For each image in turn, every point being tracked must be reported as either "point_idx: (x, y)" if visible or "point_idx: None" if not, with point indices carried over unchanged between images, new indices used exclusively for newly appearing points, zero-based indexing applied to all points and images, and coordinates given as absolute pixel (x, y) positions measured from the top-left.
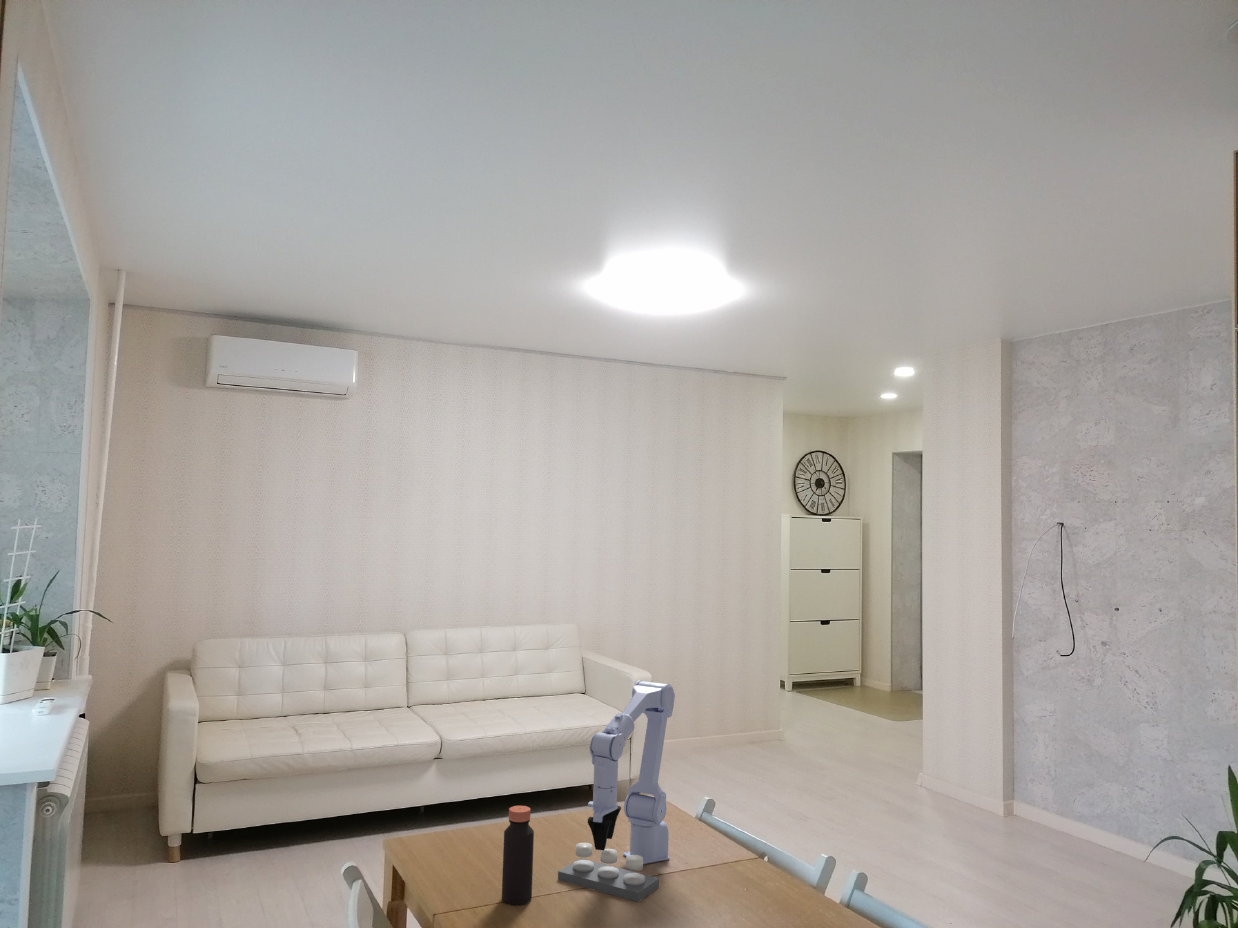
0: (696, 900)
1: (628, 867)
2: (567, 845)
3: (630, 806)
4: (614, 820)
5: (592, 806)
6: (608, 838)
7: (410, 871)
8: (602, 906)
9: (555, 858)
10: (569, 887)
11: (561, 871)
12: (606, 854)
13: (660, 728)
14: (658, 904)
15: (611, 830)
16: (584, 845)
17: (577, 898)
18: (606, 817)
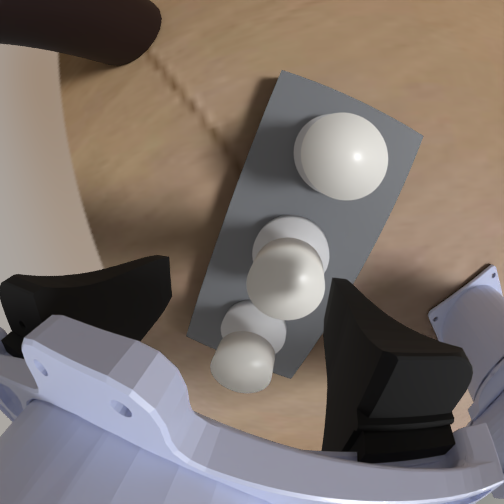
0: (239, 412)
1: (222, 341)
2: None
3: None
4: (328, 403)
5: (30, 375)
6: (327, 304)
7: None
8: (143, 245)
9: (446, 58)
10: (232, 127)
11: (282, 81)
12: (250, 279)
13: None
14: (197, 359)
15: (328, 345)
16: (346, 157)
17: (165, 171)
18: (345, 373)
